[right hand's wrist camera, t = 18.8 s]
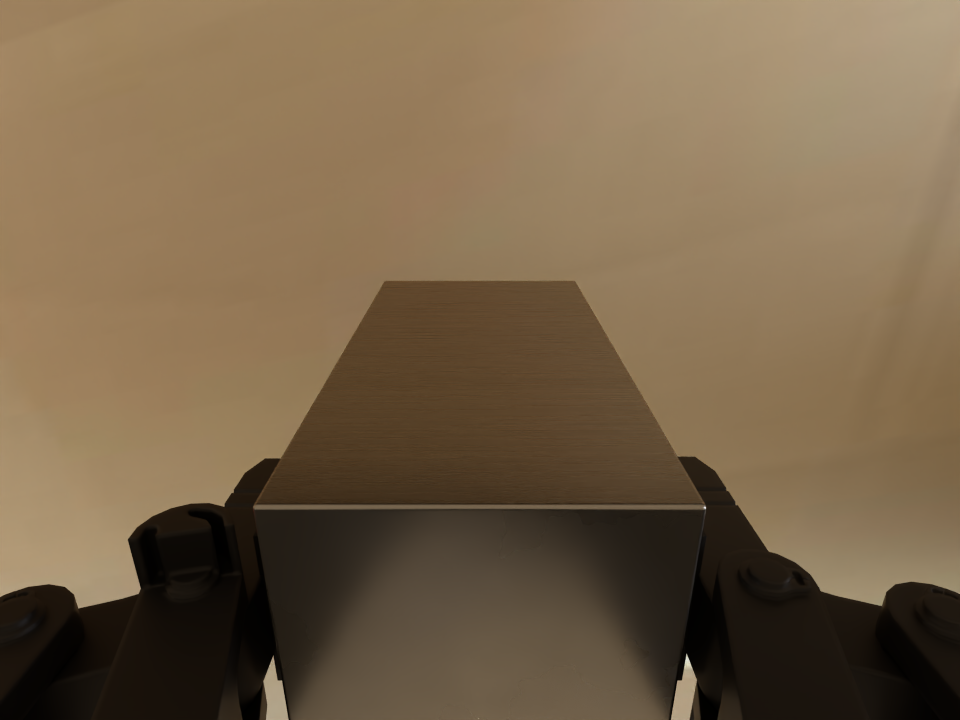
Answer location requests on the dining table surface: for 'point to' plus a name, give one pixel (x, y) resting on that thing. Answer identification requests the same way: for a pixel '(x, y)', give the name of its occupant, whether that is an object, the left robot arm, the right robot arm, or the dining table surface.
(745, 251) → the dining table surface
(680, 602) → the brick
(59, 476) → the dining table surface
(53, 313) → the dining table surface
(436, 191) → the dining table surface
